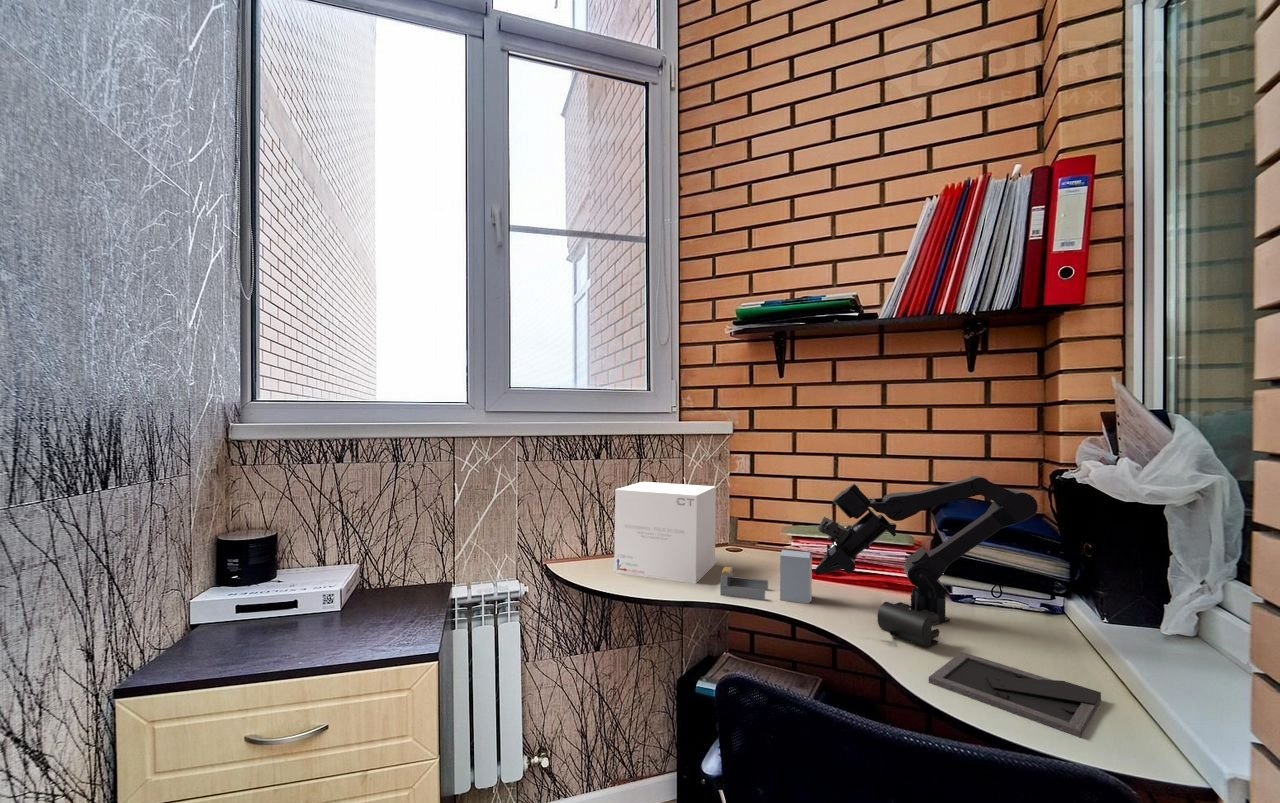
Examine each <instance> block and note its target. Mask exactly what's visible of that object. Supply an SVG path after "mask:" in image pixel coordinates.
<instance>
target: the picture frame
mask: <svg viewBox="0 0 1280 803" xmlns="http://www.w3.org/2000/svg"><path fill="white" fill-rule="evenodd" d="M928 684H931V685H932V686H936V687H938V688H941V689H945V690H947V691H950V692H953V693H956V694H958V695H961V696H963V697H967V698H970V699H972V700H975V701H978V702H980V703H983V704H986V705H989V706H991V707H994V708H997V709H1000V710H1003V711H1004V712H1007V713H1010V714H1012V715H1016V716H1019V717H1021V718H1024V719H1027V720H1030V721H1032V722H1035V723H1038V724H1040V725H1043V726H1046V727H1049V728H1052V729H1055V730H1057V731H1061V732H1063V733H1065V734H1068V735H1071V736H1073V737H1077V738H1081V737H1082V735H1083V733H1084V731H1085V730H1086V728H1087V727H1088V725H1089V723H1090V721H1091V720H1092V718H1093V716H1094V714H1095V712H1096V711H1097V709H1098V707H1099V706H1100V704H1101V702H1102V692H1101V691H1098V690H1095V689H1091V688H1088V687H1085V686H1082V685H1078V684H1075V683H1071V682H1069V681H1065V680H1056V679H1051V678H1048V677H1046V676H1045V677H1043V676H1041V675H1038V674H1035V673H1031V672H1028V671H1025V670H1022V669H1019V668H1016V667H1012V666H1009V665H1005V664H1002V663H999V662H996V661H994V660H993V661H992V660H990V659H988V658H987V659H986V658H984V657H980V656H976V655H974V654H970V653H967V652H964V651H961V652H959V653H958V654H957V655H955V656H954V657H953V658H952V659H950V660H949V661H947V662H946V663H945V664H944V665H942V666H941V667H940V668H939V669H937V670H936V671H935V672H933V673H932V674H930V675H929V676H928Z"/></svg>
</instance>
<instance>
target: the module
mask: <svg viewBox="0 0 1280 803" xmlns="http://www.w3.org/2000/svg"><path fill="white" fill-rule="evenodd" d="M779 562H780V564H779V566H780V568H779V570H780V573H779V580H780V581H779V600H780V601H785V602H791V603H792V602H793V603H800V604H801V603H802V604H810V602H812V599H813V598H812V595H813V594H812V592H813V582H812V581H813V568H812V567H813V554H811V552H810V551H809V552H808V551H799V550H798V551H797V550H789V549H788V550H787V549H781V552H780V561H779Z"/></svg>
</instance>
